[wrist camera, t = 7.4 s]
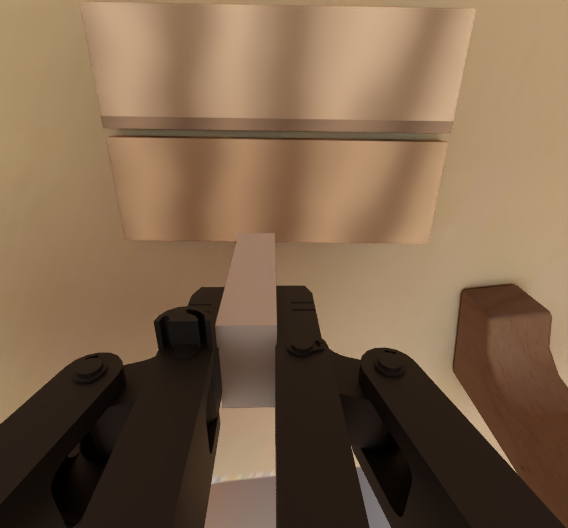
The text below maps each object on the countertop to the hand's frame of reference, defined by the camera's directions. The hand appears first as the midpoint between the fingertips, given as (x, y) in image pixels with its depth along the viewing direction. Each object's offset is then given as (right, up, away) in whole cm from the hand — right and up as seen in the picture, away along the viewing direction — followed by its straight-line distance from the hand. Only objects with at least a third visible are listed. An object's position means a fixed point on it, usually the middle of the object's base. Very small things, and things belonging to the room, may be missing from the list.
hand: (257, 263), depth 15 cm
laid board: (+1, +12, +7) cm, 14 cm away
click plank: (+1, +5, +10) cm, 12 cm away
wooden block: (+18, -6, +16) cm, 25 cm away
